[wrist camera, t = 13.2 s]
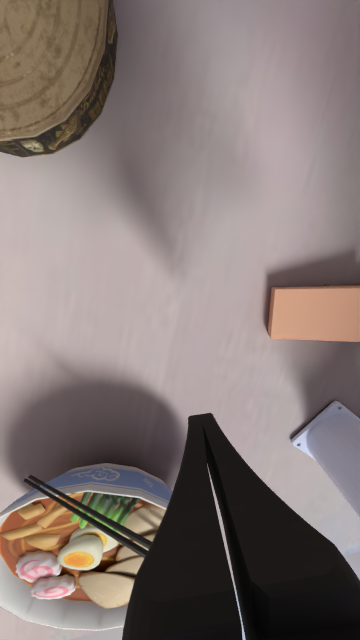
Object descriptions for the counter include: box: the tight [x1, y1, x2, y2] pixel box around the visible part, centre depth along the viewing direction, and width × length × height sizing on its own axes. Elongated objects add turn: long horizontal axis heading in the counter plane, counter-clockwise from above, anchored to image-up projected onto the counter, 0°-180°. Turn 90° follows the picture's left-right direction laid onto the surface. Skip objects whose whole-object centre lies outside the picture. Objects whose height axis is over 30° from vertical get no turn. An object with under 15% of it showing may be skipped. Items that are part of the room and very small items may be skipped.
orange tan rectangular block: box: [268, 286, 360, 342], centre depth 19 cm, size 2×5×9 cm
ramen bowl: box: [0, 463, 173, 631], centre depth 22 cm, size 25×23×8 cm
